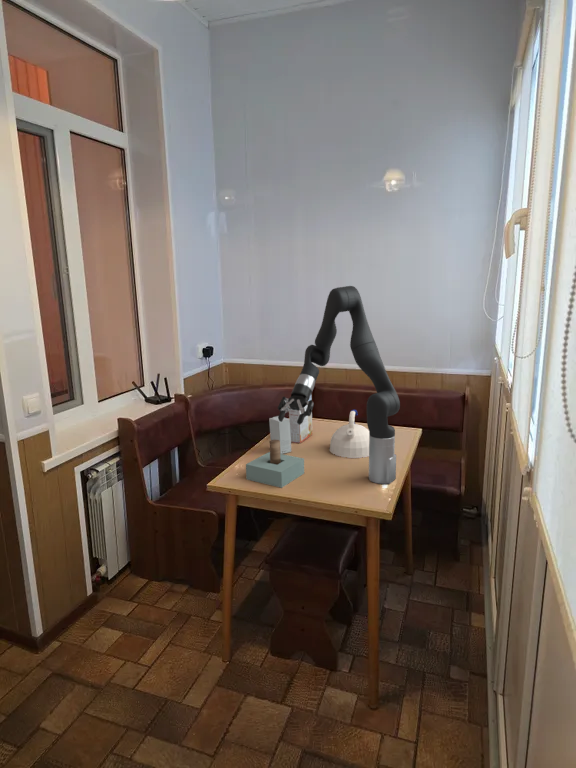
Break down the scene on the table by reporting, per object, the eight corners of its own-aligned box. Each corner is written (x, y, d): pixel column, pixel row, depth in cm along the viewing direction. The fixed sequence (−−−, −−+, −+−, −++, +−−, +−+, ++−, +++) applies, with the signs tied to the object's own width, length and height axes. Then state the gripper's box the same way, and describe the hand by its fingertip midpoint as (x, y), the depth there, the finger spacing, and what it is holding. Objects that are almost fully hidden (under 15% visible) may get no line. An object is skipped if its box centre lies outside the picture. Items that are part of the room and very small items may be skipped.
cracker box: (301, 433, 249) (300, 391, 244) (312, 435, 246) (312, 392, 242) (288, 442, 236) (287, 397, 232) (300, 443, 234) (299, 399, 229)
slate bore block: (304, 473, 199) (304, 458, 198) (281, 487, 186) (281, 472, 185) (270, 465, 208) (269, 451, 207) (246, 479, 195) (245, 464, 193)
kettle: (325, 457, 217) (325, 415, 213) (333, 441, 236) (333, 403, 232) (374, 460, 212) (375, 418, 208) (377, 444, 231) (378, 405, 228)
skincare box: (291, 452, 223) (291, 419, 220) (279, 455, 220) (279, 421, 217) (281, 446, 230) (280, 414, 227) (269, 449, 227) (268, 417, 224)
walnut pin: (282, 472, 198) (282, 440, 195) (277, 476, 194) (276, 443, 191) (274, 470, 200) (273, 438, 197) (268, 474, 196) (267, 441, 194)
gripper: (285, 381, 210) (270, 415, 203) (315, 384, 202) (301, 419, 195) (292, 391, 215) (277, 424, 208) (322, 394, 208) (308, 429, 201)
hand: (289, 422), depth 202 cm, fingers open, 8 cm apart
